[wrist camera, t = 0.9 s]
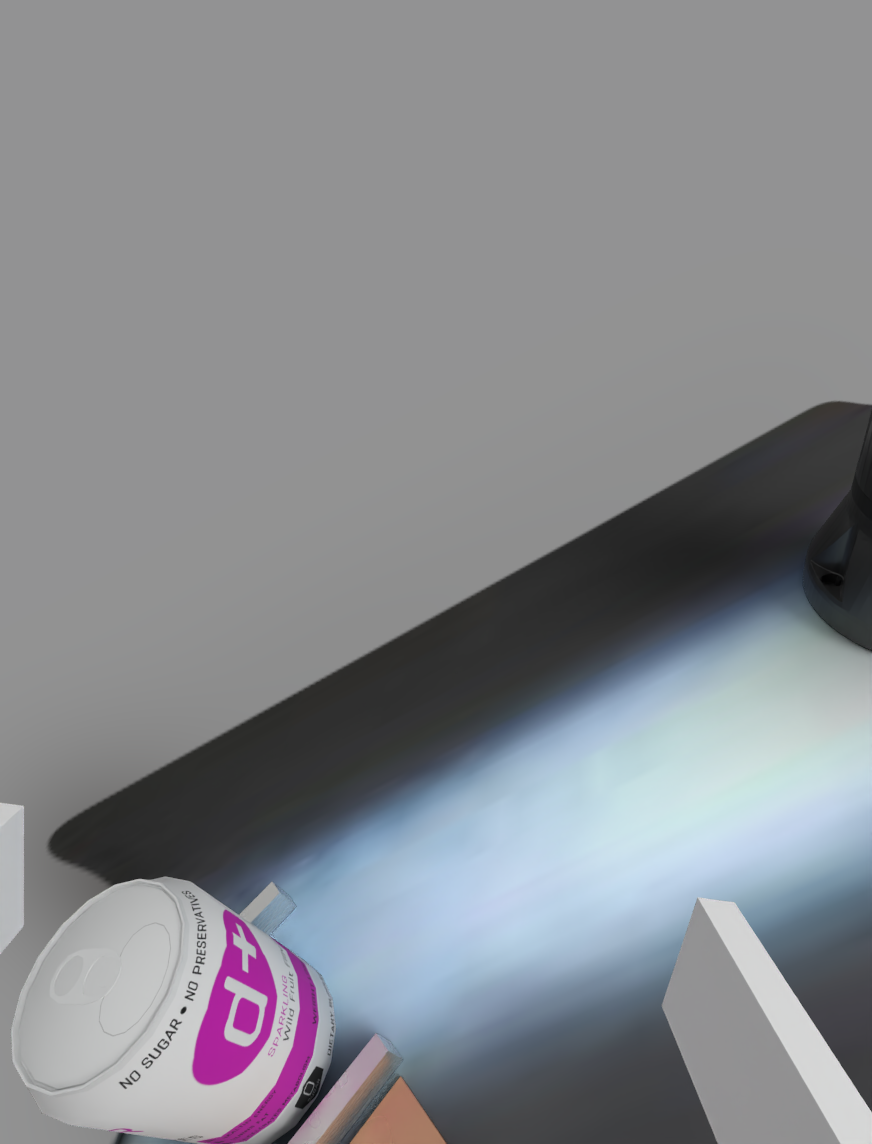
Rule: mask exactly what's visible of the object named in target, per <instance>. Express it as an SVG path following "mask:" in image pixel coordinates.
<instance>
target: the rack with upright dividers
mask: <svg viewBox="0 0 872 1144" xmlns="http://www.w3.org/2000/svg"><path fill="white" fill-rule="evenodd" d="M296 907H297V906H296V905H295V903H294V902H293V901H292V899H291V898H290V896H289V895H288V894H287V893H285V892H284V891H283V890H282V889H281V888H279V887H278V886H277V885H276V884H275V883H273V882H271V883H270V884H269V885H268V886H267V887H266V888H265V889H264V890H263V891H262V892H261V893H260V894H259V895H258V896H257V897H256V898H255V899H254V900H253V901H252V902H251V903H250V904H249V905H248V906H247V907H246V908H245V909H244V910H243V911H242V912H241V913H240V914H239V915H240V916H241V917H242V918H244V919H245V920H247V921H248V922H250V923H251V924H253V925H254V926H255V927H257V928H258V929H260V930H261V931H263V932H264V933H266V934H267V935H268V936H269V935H270V934H271V933H272V932H273V931H274V930H275V929H276V928H277V927H278V925H279V924H280V923H281V922H282V921H283V920H284V919H285V918H286V917H287V916H288V915H289V914H290V913H291V912H292V911H293V910H294V909H295V908H296ZM402 1060H403V1059H402V1057H401V1056H400V1054H399V1053H398V1051H397V1050H396V1048H395V1047H394V1046H393V1044H392V1043H391V1042H390V1041H388V1040H387V1039H385V1038H383V1037H382V1036H380V1035H378V1034H377V1033H376V1034H375V1035H374V1036H373V1037H372V1039H371V1040H370V1041H369V1042H368V1044H367V1045H366V1046H365V1047H364V1049H363V1050H362V1051H361V1052H360V1054H359V1055H358V1056H357V1057H356V1059H355V1060H354V1061H353V1062H352V1064H351V1065H350V1066H349V1067H348V1069H347V1070H346V1071H345V1072H344V1074H343V1075H342V1076H341V1077H340V1079H339V1080H338V1081H337V1082H336V1084H335V1085H334V1086H333V1087H332V1089H331V1090H330V1091H329V1093H328V1094H327V1095H326V1096H325V1098H324V1099H323V1100H322V1101H321V1103H320V1104H319V1105H318V1106H317V1108H316V1109H315V1110H314V1111H313V1113H312V1114H311V1115H310V1116H309V1118H308V1119H307V1120H306V1121H305V1123H304V1124H303V1125H302V1126H301V1128H300V1129H299V1130H298V1131H297V1133H296V1134H295V1135H294V1136H293V1138H292V1139H291V1140H290V1141H289V1143H288V1144H339V1143H340V1141H341V1140H342V1139H343V1137H344V1136H345V1135H346V1133H347V1132H348V1131H349V1129H350V1128H351V1127H352V1126H353V1124H354V1123H355V1122H356V1120H357V1119H358V1118H359V1116H360V1115H361V1114H362V1112H363V1111H364V1110H365V1109H366V1107H367V1106H368V1105H369V1103H370V1102H371V1101H372V1099H373V1098H374V1097H375V1095H376V1094H377V1093H378V1091H379V1090H380V1089H381V1088H382V1086H383V1085H384V1084H385V1082H386V1081H387V1080H388V1078H389V1077H390V1076H391V1074H392V1073H393V1072H394V1071H395V1069H396V1068H397V1067H398V1065H399V1064H400V1063H401V1061H402ZM350 1144H447V1142H446V1141H445V1139H444V1138H443V1136H442V1135H441V1134H440V1132H439V1131H438V1129H437V1128H436V1126H435V1125H434V1123H433V1122H432V1120H431V1119H430V1117H429V1116H428V1114H427V1113H426V1111H425V1110H424V1109H423V1107H422V1106H421V1104H420V1103H419V1101H418V1100H417V1098H416V1097H415V1095H414V1094H413V1092H412V1091H411V1089H410V1088H409V1086H408V1085H407V1084H406V1082H405V1081H404V1079H403V1078H402V1077H401V1076H400V1078H399V1079H398V1080H397V1082H396V1083H395V1084H394V1086H393V1087H392V1088H391V1090H390V1091H389V1092H388V1094H387V1095H386V1096H385V1097H384V1099H383V1100H382V1101H381V1103H380V1104H379V1105H378V1107H377V1108H376V1109H375V1111H374V1112H373V1113H372V1115H371V1116H370V1117H369V1119H368V1120H367V1121H366V1123H365V1124H364V1125H363V1127H362V1128H361V1129H360V1131H359V1132H358V1133H357V1135H356V1136H355V1137H354V1139H353V1140H352V1141H351V1142H350Z"/></svg>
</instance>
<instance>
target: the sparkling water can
mask: <svg viewBox="0 0 872 1144" xmlns="http://www.w3.org/2000/svg"><path fill="white" fill-rule="evenodd" d="M335 1032H336V1024H335V1015H334V1007H333V998H332V996H331V994H330V992H329V990H328V988H327V986H326V983H325V981H324V979H323V977H322V975H321V974H320V973H319V972H317V971H316V970H315V969H314V968H313V967H312V966H310V965H309V964H308V963H307V962H306V961H305V960H303V959H302V958H300V957H299V956H297V955H296V954H294V953H293V952H292V951H290V950H289V949H287V948H286V947H284V946H283V945H281V944H280V943H279V942H277V941H276V940H274V939H273V938H271V937H270V936H268V935H267V934H266V933H264V932H263V931H261V930H260V929H258V928H257V927H255V926H254V925H253V924H251V923H250V922H248V921H247V920H245V919H244V918H242V917H241V916H240V915H238V914H237V913H235V912H234V911H232V910H231V909H229V908H228V907H226V906H225V905H224V904H222V903H221V902H219V901H218V900H216V899H215V898H213V897H212V896H211V895H209V894H208V893H206V892H205V891H203V890H202V889H200V888H199V887H198V886H196V885H195V884H193V883H192V882H190V881H186V880H181V879H176V878H170V877H161V878H157V879H152V880H144V879H137V880H133V881H128V882H124V883H120V884H116V885H113V886H112V887H110V888H108V889H107V890H105V891H103V892H102V893H100V894H98V895H97V896H95V897H93V898H91V899H90V900H88V901H87V902H86V903H85V904H84V905H82V907H81V908H79V909H78V910H77V911H76V912H75V913H74V914H73V915H72V916H71V917H70V918H69V919H68V920H67V921H65V922H64V923H63V924H62V925H61V926H60V928H59V929H58V930H57V932H56V933H55V934H54V936H53V937H52V938H51V940H50V941H49V943H48V944H47V945H46V947H45V948H44V949H43V951H42V952H41V953H40V955H39V956H38V958H37V960H36V962H35V964H34V966H33V968H32V970H31V972H30V974H29V976H28V978H27V980H26V982H25V984H24V986H23V988H22V990H21V993H20V996H19V1000H18V1004H17V1008H16V1012H15V1016H14V1020H13V1024H12V1028H11V1041H12V1061H13V1064H14V1066H15V1067H16V1069H17V1071H18V1073H19V1075H20V1076H21V1078H22V1080H23V1082H24V1084H25V1085H26V1086H27V1088H28V1090H29V1091H30V1093H31V1095H32V1097H33V1099H34V1100H35V1102H36V1104H37V1106H38V1107H39V1109H40V1111H41V1113H42V1114H45V1115H47V1116H49V1117H52V1118H54V1119H56V1120H59V1121H61V1122H64V1123H66V1124H69V1125H72V1126H79V1127H86V1128H93V1129H100V1130H107V1131H114V1132H121V1133H128V1134H135V1135H142V1136H148V1137H155V1138H162V1139H169V1140H176V1141H183V1142H190V1143H197V1144H271V1143H272V1142H274V1141H275V1140H277V1139H278V1138H279V1137H281V1136H282V1135H284V1134H285V1133H287V1132H288V1131H289V1130H291V1129H292V1128H294V1127H295V1126H296V1125H297V1123H298V1122H299V1121H300V1119H301V1118H302V1117H303V1115H304V1114H305V1113H306V1111H307V1110H308V1109H309V1107H310V1106H311V1105H312V1103H313V1102H314V1101H315V1099H316V1098H317V1096H318V1094H319V1091H320V1089H321V1086H322V1084H323V1081H324V1079H325V1076H326V1074H327V1072H328V1069H329V1067H330V1064H331V1059H332V1053H333V1046H334V1039H335Z"/></svg>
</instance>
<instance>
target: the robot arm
mask: <svg viewBox="0 0 872 1144" xmlns="http://www.w3.org/2000/svg"><path fill="white" fill-rule="evenodd" d="M803 587H804V590H805V593H806V596H807V598H808V600H809V602H810V604H811V605H812V606H813V608H814V609H815V611H816V612H817V613H818V614H819V615H820V616H821V617H822V619H823V620H825V621H826V622H827V623H828V624H829V625H830V626H831V627H833V628H834V629H835V630H836V631H838V632H839V633H841V634H842V635H844V636H845V637H847V638H848V639H850V640H852V641H853V642H855V643H857V644H859V645H861V646H863V647H865V648H867V649H869V650H871V651H872V411H871V415H870V419H869V423H868V426H867V430H866V434H865V438H864V441H863V445H862V449H861V452H860V456H859V460H858V463H857V467H856V472H855V476H854V480H853V483H852V487H851V490H850V491H849V493H848V494H847V495H846V496H845V498H844V499H843V500H842V502H841V503H840V504H839V505H838V507H837V508H836V509H835V511H834V512H833V513H832V514H831V516H830V517H829V518H828V520H827V521H826V522H825V524H824V525H823V526H822V527H821V529H820V530H819V531H818V533H817V534H816V535H815V537H814V538H813V540H812V542H811V544H810V546H809V549H808V551H807V556H806V561H805V565H804V570H803ZM23 926H24V806H20V805H13V804H5V803H0V954H1V953H2V952H3V951H4V949H5V948H6V947H7V946H8V945H9V943H10V942H11V941H12V940H13V938H14V937H15V936H16V935H17V934H18V932H19V931H20V930H21V929H22V928H23ZM662 1008H663V1010H664V1012H665V1015H666V1017H667V1020H668V1022H669V1025H670V1027H671V1030H672V1032H673V1035H674V1037H675V1039H676V1042H677V1044H678V1047H679V1049H680V1052H681V1054H682V1057H683V1059H684V1062H685V1064H686V1066H687V1069H688V1071H689V1074H690V1076H691V1079H692V1081H693V1084H694V1086H695V1089H696V1091H697V1093H698V1096H699V1098H700V1101H701V1103H702V1106H703V1108H704V1111H705V1113H706V1116H707V1118H708V1120H709V1123H710V1125H711V1128H712V1130H713V1133H714V1135H715V1138H716V1140H717V1143H718V1144H872V1112H871V1111H870V1109H869V1108H868V1106H867V1105H866V1103H865V1102H864V1100H863V1099H862V1097H861V1096H860V1094H859V1092H858V1091H857V1089H856V1088H855V1086H854V1085H853V1083H852V1082H851V1080H850V1079H849V1077H848V1076H847V1074H846V1073H845V1071H844V1069H843V1068H842V1066H841V1065H840V1063H839V1062H838V1060H837V1059H836V1057H835V1056H834V1054H833V1053H832V1051H831V1050H830V1048H829V1047H828V1045H827V1043H826V1042H825V1040H824V1039H823V1037H822V1036H821V1034H820V1033H819V1031H818V1030H817V1028H816V1027H815V1025H814V1024H813V1022H812V1020H811V1019H810V1017H809V1016H808V1014H807V1013H806V1011H805V1010H804V1008H803V1007H802V1005H801V1004H800V1002H799V1001H798V999H797V997H796V996H795V994H794V993H793V991H792V990H791V988H790V987H789V985H788V984H787V982H786V981H785V979H784V978H783V976H782V975H781V973H780V971H779V970H778V968H777V967H776V965H775V964H774V962H773V961H772V959H771V958H770V956H769V955H768V953H767V952H766V950H765V948H764V947H763V945H762V944H761V942H760V941H759V939H758V938H757V936H756V935H755V933H754V932H753V930H752V929H751V927H750V926H749V924H748V922H747V921H746V919H745V918H744V916H743V915H742V913H741V912H740V910H739V909H738V907H737V906H736V904H735V903H734V902H727V901H720V900H712V899H705V898H697V901H696V904H695V907H694V910H693V913H692V916H691V919H690V922H689V925H688V928H687V931H686V934H685V937H684V940H683V943H682V946H681V949H680V952H679V955H678V958H677V961H676V964H675V967H674V970H673V974H672V977H671V980H670V983H669V986H668V989H667V992H666V995H665V998H664V1001H663V1004H662Z"/></svg>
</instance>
